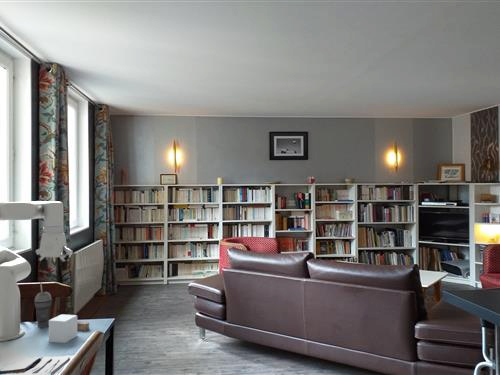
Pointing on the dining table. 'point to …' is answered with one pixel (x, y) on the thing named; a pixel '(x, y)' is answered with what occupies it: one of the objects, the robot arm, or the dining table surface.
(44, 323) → the beverage cup
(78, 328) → the rail
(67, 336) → the white squarish block
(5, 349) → the dining table surface
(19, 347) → the dining table surface
